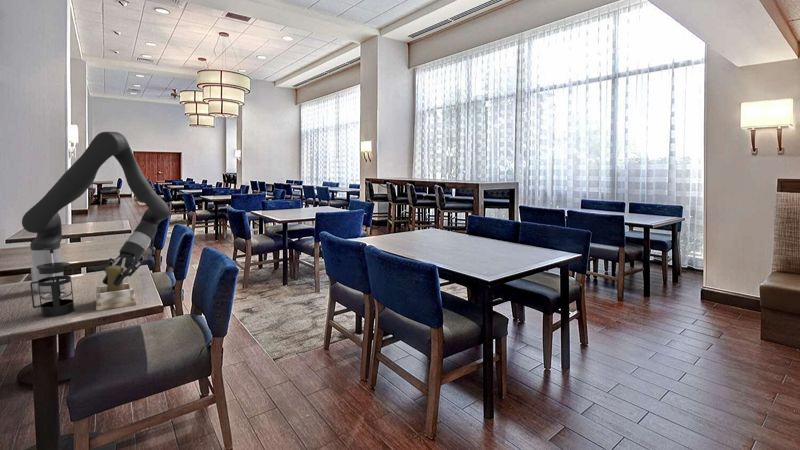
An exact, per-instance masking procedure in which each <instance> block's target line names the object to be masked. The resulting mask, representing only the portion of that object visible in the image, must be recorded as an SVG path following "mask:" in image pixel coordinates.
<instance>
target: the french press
mask: <svg viewBox="0 0 800 450" xmlns="http://www.w3.org/2000/svg"><path fill="white" fill-rule="evenodd" d="M55 249H59V248H58V247H49V248H45V249H43V250H50V254H51V256H52V263H48V264H43V265H39V266H37V267H36V268H37V269H38V272H39V274H54V276H53V277H47V278H43V279H40V280H38V281H35V282H32V281H31V282H30V284H29V285H30V286H29V287H30V291H31V292H30V293H31V301H32V303H31V304H32V308H33V309H37V308H40V316H41V317H43V318H52V317H53V318H54V317H60V316H64V315H69V314H71V313H73V312H75V311H76V307H75V303H74V302H75V301H74V294H73V293H74V292H73V284H72V283H73V282H72V276H71V275H64V276H55V273H61V272H63V273H64V272H65V271H66V270H67V269H68V267H69V266H70V265H71V264H70V262H68V261H67V262H65V261H64V262H63V261H62V262H57V263H54V261H53V253H54V251H53V250H55ZM59 279H64V280H62V281H59ZM51 280H53V282H46V281H51ZM34 283H38V288H39V292H38V293H39V294H38V295H39V302H40V303H39V305H35V297H34V291H33V284H34ZM68 283H70V289H71V290H60V285H62V284H64V285H65V284H68ZM40 286H51V290H52V292H46V293H43V294H42V295H41V293H40ZM70 296H71V298H68V297H70ZM63 298H64V299H63ZM42 300H44V301H45V300H46V301H47V302H44V303H43V302H42Z"/></svg>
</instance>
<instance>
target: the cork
mask: <svg viewBox="0 0 800 450" xmlns="http://www.w3.org/2000/svg"><path fill="white" fill-rule="evenodd" d="M104 270H105V269H104ZM121 270H122V269H121V266H118V265H113V266H109V267H107V268H106V270H105V271H104V272H105V275H108V280H107V285H106V286H107V292H113V291H120V290H125V288H124V284H123V283H124V280H123V281H122V282H121V284H120V285H119V286H116V285H114V284H113V282H114V281H115V279H116V278H117V276H118V275H120V272H121Z"/></svg>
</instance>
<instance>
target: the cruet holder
mask: <svg viewBox="0 0 800 450" xmlns="http://www.w3.org/2000/svg"><path fill="white" fill-rule="evenodd" d="M123 284H124V288H125V290H120V291H113V292H107V285H100V286H96V290H95V291H96V292H95V298H96V299H95V300H96V304H95V311H103V310H109V309H116V308H124V307H131V306H135V305H137V301H136V296H135V295H136V294H135V288H134V284H133V281H132V282H123Z"/></svg>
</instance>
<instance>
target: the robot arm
mask: <svg viewBox="0 0 800 450" xmlns="http://www.w3.org/2000/svg"><path fill="white" fill-rule="evenodd" d="M111 157H114V158H115V160H116V161H117V162H118V164H119V165H120V166H121V168H122V171H123V173H124V177H125V180H126V182H127V186H128V187H129V189H130V191H131V192H132V194H133V195H134V197H135V198H136V200H137V201H138V202H139V203H142V204H145V205H146V206H147V207H148V208H147V209H146V210H145V211H144V212H143V215H142V217H141V219H140V222H139V223H138V224H137V226H136V227H135V229H134V230H133V232H132V233H130V235H129V236H128V238H127V239H126V241H125V242H124V243H123V245H122V246H121V247H120V249H119V255H118V256H117V257H116V258H112V257H111V258H108V260H107V263H106V265H105V268H104V270H103V271H104V272H105V270H106V268H107V267H109V266H113V265H118V266H121V269H122V270H121V272H120V275H118V276H117V278H116V279H115V281H114V282H113V284H114V285H116V286H119V285H120V284H121V282H122V281H123V282H124V279H125V278H127V277H132V275H133V274H135V272H136V271H137V270H138V269H139V268H140V267H141V266H142V263H141V262H139V261H140V259H141V258H142V257H143V255H144V254H145V252H146V251H147V249H148V247H149V245H150V243H151V241H152V240H153V238H154V237H155V235H156V233H157V230H158V226H159V225H160V224H161V222H163V221H164V220H166V219H168V218H169V217H170V214H171V210H170V207H169V204H167V203H166V202H165V200H163V198H162V197H160V195H158V194H157V192H155V190H154V188H153V187H152V185H151V183H150V182H149V180H148V179H147V178H146V176H145V174H144V173H143V171H142V168H141V167H140V165H139V164H138V162H137V158H136V157H135V155H134V153H133V151H132V148H131V145H130V144H129V141H128V139H127V137H125V135H124V134H123V133H120V132H118V131H103V132H99V133H97V134H96V135H95V136H94V138H93V139H92V140H91V141H90V143H89V144H88V146H87V148H86V149H85V150H84V152H83V153H82V154H81V156H80V157H79V158H78V159H77V160H75V162H73V164H71V166H70V167H69V168H68V169H66V171H65V172H64V174H62V175H61V176H60V178H59V179H58V180H57V181H56V183H54V185H53V186H52V187H51V188H50V190H48V191H47V192H46V194H45V195H44V196H43V197H42V198H41V199H40V200H39V201H37V202H36V203H35V204H34V205H33V206H32V207H30V209H28V210H27V211H26V212H25V213H24V214H23V216H22V220H21V225H22V227H23V229H24V230H25V231H26V232H28V233H32V234H36V237H35V238H34V239H33V240H32V241H31V242H30V245H29V246H30V253H31V254H30V255H31V262H32V263H31V264H32V267H31V268H30V273H31V274H30V275H31V282H35V281H38V280H40V279H43V278H47V277H53V276H54V274H39V272H38V269H37V268H36V267H37V266H39V265H43V264H48V263H52V256H51V254H50V250H43V249H45V248H49V247H58V248H59V249H55V250H53V251H54V253H53V261H54V263H57V262H63V259H62V249H61V243H62V239H63V234H62V233H63V231H62V229H63V228H62V219H61V216H60V213H59V212H60V211H61V210H62V209H64V208H65V207H66V206H68V205H70V204H71V203H73V202H74V201H77V199H78V198H80V197H81V196H83V194H85V192H87V190H88V189H89V188H90V187H91V185H93V183H94V181H95V179H96V176H97V173H98V172H99V169H100V168H101V167H102V166H103V164H104V163H106V162H107V160H108V161H109V159H110V158H111ZM55 276H65V275H64V272H61V273H55ZM62 280H65V279H59V281H62ZM107 280H108V275H107V274H105V276H104V277H103V279H102V284H104V286H107ZM46 282H53V280H51V281H46ZM32 286H33V292H36V293H39V288H38V283H34V284H32ZM65 287H66V286H65V284H62V285H60V291H62V290H64V289H65ZM41 293H43V294H45V293H52V290H51V286H40V294H41Z"/></svg>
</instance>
